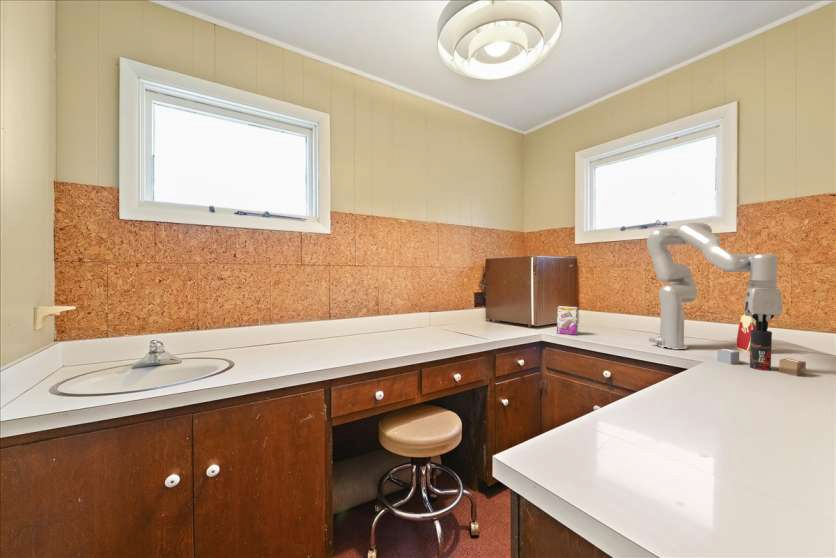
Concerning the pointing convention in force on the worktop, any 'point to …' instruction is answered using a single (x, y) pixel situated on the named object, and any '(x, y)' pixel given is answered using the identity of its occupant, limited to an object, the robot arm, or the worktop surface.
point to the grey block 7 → (728, 356)
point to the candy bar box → (567, 320)
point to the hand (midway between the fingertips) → (761, 331)
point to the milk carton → (745, 332)
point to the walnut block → (792, 367)
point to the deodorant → (760, 350)
